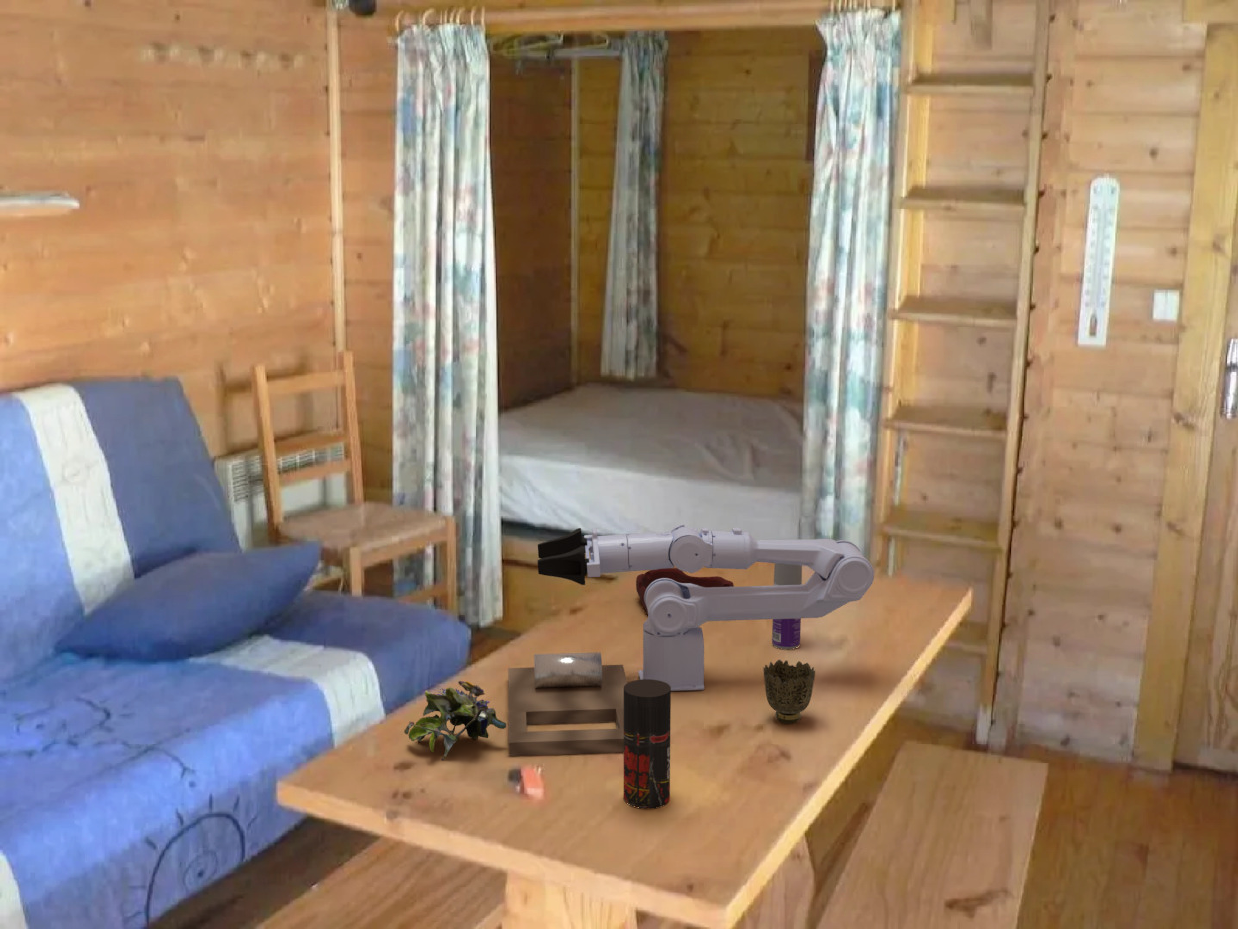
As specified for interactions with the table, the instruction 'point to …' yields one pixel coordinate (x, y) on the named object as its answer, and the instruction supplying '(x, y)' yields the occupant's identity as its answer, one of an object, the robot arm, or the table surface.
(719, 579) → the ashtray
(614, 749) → the grey brown board
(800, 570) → the container
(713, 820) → the table surface
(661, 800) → the deodorant
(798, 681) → the cup
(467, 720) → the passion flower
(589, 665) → the roller
